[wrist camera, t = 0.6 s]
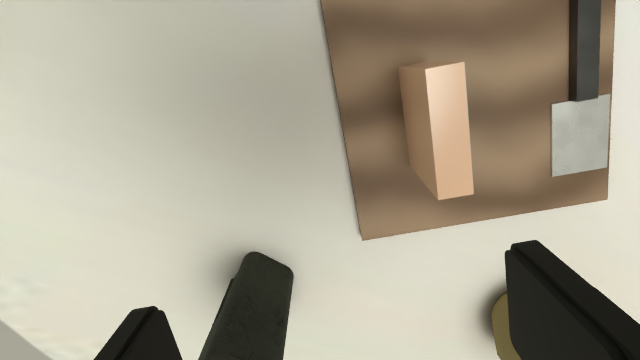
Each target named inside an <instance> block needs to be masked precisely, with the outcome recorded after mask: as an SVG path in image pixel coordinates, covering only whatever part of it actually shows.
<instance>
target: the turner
mask: <svg viewBox="0 0 640 360" xmlns="http://www.w3.org/2000/svg"><path fill="white" fill-rule="evenodd" d="M600 28H601V0H569V98H568V101H565V102H559V103H554V104H550V140H551V176H552V177H554V176H560V175H566V174H572V173H578V172H583V171H589V170H595V169H601V168H607V159H608V134H609V109H610V94H603V95H598V93H599V60H600Z"/></svg>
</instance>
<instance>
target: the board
mask: <svg viewBox="0 0 640 360" xmlns="http://www.w3.org/2000/svg"><path fill="white" fill-rule="evenodd" d="M615 3H616V0H601V28H600V60H599V93H598V95H603V94H610V109H609V134H608V159H607V168H601V169H595V170H589V171H583V172H578V173H572V174H566V175H560V176H554V177H552V176H551V140H550V104H554V103H559V102H565V101H568V98H569V0H321V5H322V10H323V16H324V22H325V28H326V34H327V40H328V45H329V51H330V57H331V63H332V69H333V75H334V80H335V86H336V92H337V98H338V104H339V109H340V115H341V121H342V127H343V133H344V139H345V144H346V150H347V156H348V162H349V168H350V174H351V179H352V185H353V191H354V197H355V203H356V208H357V214H358V220H359V226H360V232H361V237H362V241H364V240H370V239H375V238H381V237H387V236H393V235H399V234H405V233H411V232H417V231H423V230H429V229H435V228H441V227H447V226H453V225H459V224H465V223H471V222H477V221H483V220H489V219H495V218H500V217H506V216H512V215H518V214H524V213H530V212H536V211H542V210H548V209H554V208H560V207H566V206H572V205H578V204H584V203H590V202H596V201H602V200H607V199H608V174H609V150H610V125H611V101H612V76H613V52H614V28H615ZM426 61H447V62H464V63H465V74H466V88H467V102H468V116H469V130H470V144H471V158H472V172H473V186H474V194H472V195H466V196H460V197H454V198H448V199H443V200H438V199H437V198H436V197H435V196H434V194H433V193H432V192H431V191H430V190H429V188H428V187H427V186H426V185H425V184H424V182H423V181H422V180H421V179H420V178H419V176H418V175H417V174H416V173H415V172H414V170H413V169H412V168H411V167H410V163H409V154H408V146H407V138H406V130H405V122H404V113H403V105H402V97H401V89H400V81H399V72H398V67H400V66H405V65H410V64H415V63H421V62H426Z"/></svg>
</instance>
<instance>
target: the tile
mask: <svg viewBox="0 0 640 360" xmlns="http://www.w3.org/2000/svg"><path fill="white" fill-rule="evenodd" d="M398 72H399V81H400V89H401V97H402V105H403V113H404V122H405V130H406V138H407V146H408V154H409V163H410V167H411V168H412V169H413V170H414V172H415V173H416V174H417V175H418V176H419V178H420V179H421V180H422V181H423V182H424V184H425V185H426V186H427V187H428V188H429V190H430V191H431V192H432V193H433V194H434V196H435V197H436V198H437V199H438V200H443V199H448V198H454V197H460V196H466V195H472V194H474V186H473V172H472V158H471V144H470V130H469V116H468V102H467V88H466V74H465V63H464V62H447V61H426V62H421V63H415V64H410V65H405V66H400V67H398Z"/></svg>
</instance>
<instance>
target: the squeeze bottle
mask: <svg viewBox="0 0 640 360" xmlns="http://www.w3.org/2000/svg"><path fill="white" fill-rule="evenodd" d="M491 319H492V326H493V332H494V339H495V345H496V350H497V355H498V356H499V358H500V359H501V360H521V358H520V357H519V355H518V354H517V352H516V351H515V349H514V347H513V345H512V342H511V339H510V333H509V316H508V300H507V293H505V294H504V295H502V296H501V297H500V298H499V299H498V301H497V302H496V303H495V304H494V306H493V310H492V313H491Z"/></svg>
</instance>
